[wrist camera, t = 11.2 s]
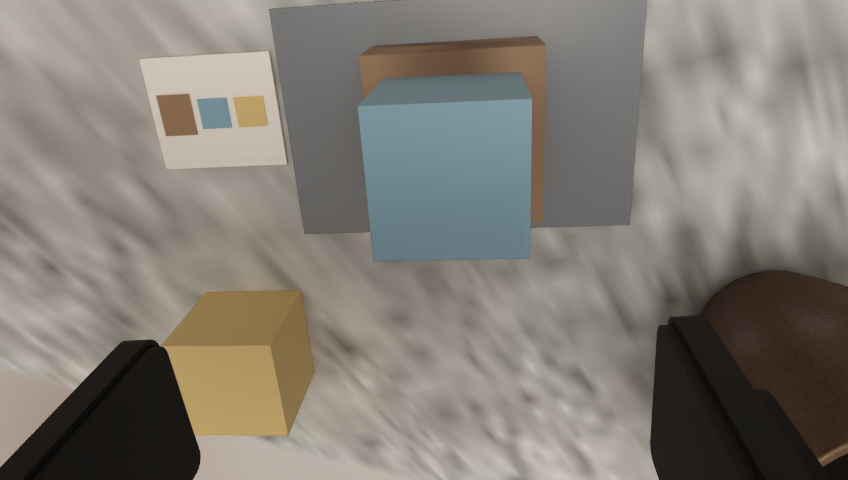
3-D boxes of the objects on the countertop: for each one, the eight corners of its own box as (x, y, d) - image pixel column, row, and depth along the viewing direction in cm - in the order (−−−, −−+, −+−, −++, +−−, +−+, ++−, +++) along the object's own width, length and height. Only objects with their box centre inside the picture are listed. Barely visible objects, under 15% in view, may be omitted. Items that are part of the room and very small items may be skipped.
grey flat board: (307, 229, 35) (304, 233, 34) (273, 8, 30) (269, 9, 29) (626, 220, 33) (629, 224, 32) (644, -17, 28) (648, -17, 28)
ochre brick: (226, 371, 40) (185, 435, 34) (207, 291, 37) (160, 346, 32) (314, 370, 39) (288, 435, 34) (301, 289, 37) (270, 345, 31)
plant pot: (711, 464, 39) (848, 754, 25) (577, 309, 35) (645, 544, 21) (947, 346, 34) (1290, 620, 20) (821, 152, 31) (1132, 315, 16)
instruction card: (167, 168, 34) (165, 169, 34) (141, 58, 32) (138, 59, 31) (288, 163, 33) (286, 164, 33) (269, 50, 31) (267, 51, 31)
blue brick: (382, 78, 26) (357, 106, 21) (520, 71, 26) (532, 98, 20) (393, 206, 29) (373, 261, 23) (520, 202, 28) (530, 258, 23)
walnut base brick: (388, 198, 33) (376, 226, 29) (373, 45, 30) (359, 56, 26) (536, 193, 32) (543, 221, 28) (537, 36, 29) (545, 45, 25)
